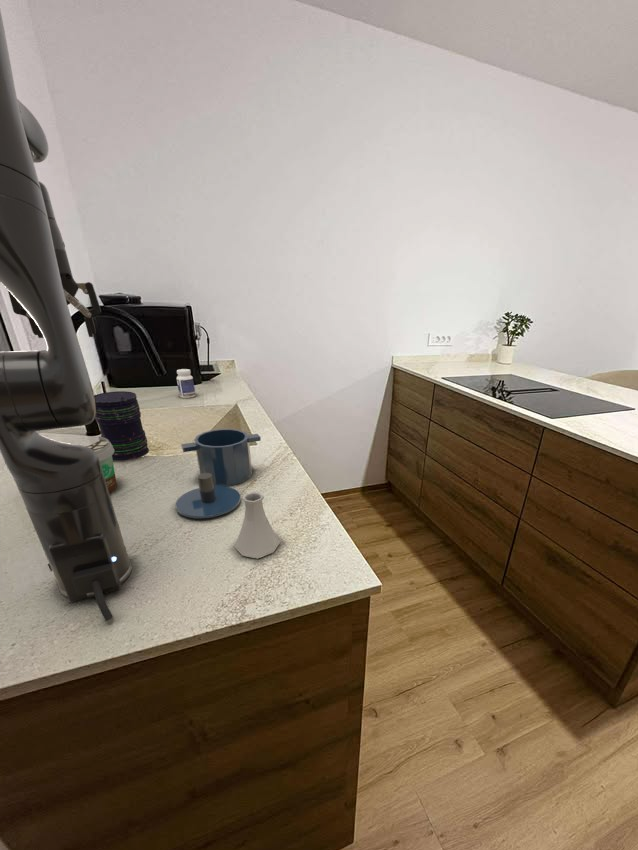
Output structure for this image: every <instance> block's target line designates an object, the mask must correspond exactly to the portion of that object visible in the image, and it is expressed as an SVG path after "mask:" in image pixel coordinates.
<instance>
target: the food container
mask: <svg viewBox="0 0 638 850" xmlns="http://www.w3.org/2000/svg"><path fill="white" fill-rule="evenodd" d="M85 447H88V448H90V449H92V450H94V451H95V452H96V454H97V455H98V457H99V460H100V463H101V467H102V471H103V474H104V477H105V481H106V484H107V488H108V491H109V494H111V493H112V492H114V491H115V490H116V489H117V487H118V483H117V477H116V472H115V466H114V461H113V459H112V454H113V453H114V448H113V446H112V444H111V443H110V442H109V441H108V439H106V438H103V437H101V436H98V441H96V442H95V443H92V444H89V445H86V446H85Z"/></svg>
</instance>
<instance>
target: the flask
mask: <svg viewBox="0 0 638 850" xmlns="http://www.w3.org/2000/svg"><path fill="white" fill-rule="evenodd" d="M264 499H265V495H263V494H262V493H261V492H257V491H251V492H248V493H246V494H244V496H242V501H243V502H244V516H243V517H244V518H243V520H242V524H241V527H240V530H239V534H238V537H237V540H236V543H235V546H234V548H235V549H236V550H237V551H238V552H239V554H240V555H241V557H247V558H253V559H257V560H259V559H260V558H263V557H266V556H268V555H270V554H273V553H274V552H275V551H276V550H277V547H279V545H280V544H281V541H280V539H279V537H278V536H277V534H276V532H275V531H274V528H273V527H272V525H271V523H270V521H269V519H268V517H267V516H266V512H265V509H264V506H263V505H264V503H263V501H264Z"/></svg>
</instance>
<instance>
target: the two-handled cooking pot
mask: <svg viewBox="0 0 638 850" xmlns="http://www.w3.org/2000/svg"><path fill="white" fill-rule="evenodd" d="M193 440H194V441H193V442H187V443H182V444H181V449H182V452H183V453H188V452H194V451H195V453H196V460H197V466H198V471H199V474H202V473H211V474H212V477H213V483H214V486H226V487H232V486H236V485H239V484H242V483H244V482H246V481H247V480H249V479H250V478H251V477H252V474H253V473H252V472H253V469H252V467H253V465H252V457H251V447H250V443H255V442H261V436H260V435H259V434H258V433H252V434H248V433H247V432H246V431H243V430H241V429H234V428H219V429H211V430H208V431H204V432H202V433H200V434H199V433H198V435H196V436H195V438H194V439H193Z"/></svg>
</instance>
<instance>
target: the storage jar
mask: <svg viewBox="0 0 638 850" xmlns="http://www.w3.org/2000/svg"><path fill="white" fill-rule="evenodd" d="M137 397H138V396H137V394H136V393H135V392H133V391H126V390H125V391H124V390H123V391H122V390H121V391H120V390H119V391H118V390H117V391H107V392H101V393H96V394H94V398H95V405H96V414H95V418H94V420H95V421H96V423H97V425H98V428H99V432H100V437H103V438H106V439H108V441H109V442H110V443H111V444H112V446H113V448H114V453H113V454H112V459H113V462H126V461H133V460H137V459H140V458H143V457H145V456H146V455H148V454H149V452H150V449H149V447H148V445H149V444H148V439H147V436H146V432H145V429H144V428H143V423H142V418H141V417H142V413H141V409H140V405H139V401H138V399H137Z"/></svg>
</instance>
